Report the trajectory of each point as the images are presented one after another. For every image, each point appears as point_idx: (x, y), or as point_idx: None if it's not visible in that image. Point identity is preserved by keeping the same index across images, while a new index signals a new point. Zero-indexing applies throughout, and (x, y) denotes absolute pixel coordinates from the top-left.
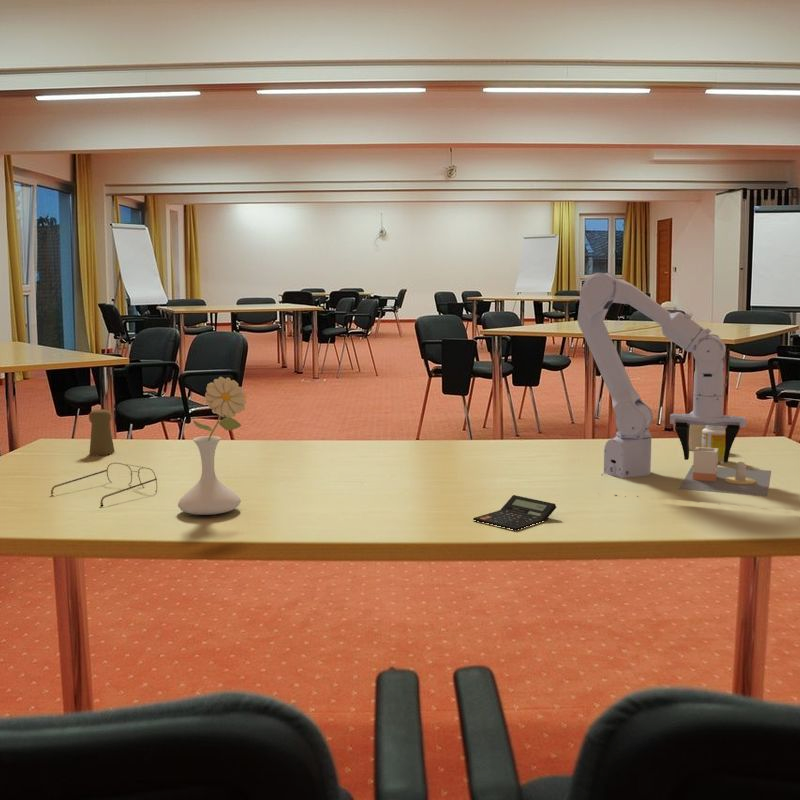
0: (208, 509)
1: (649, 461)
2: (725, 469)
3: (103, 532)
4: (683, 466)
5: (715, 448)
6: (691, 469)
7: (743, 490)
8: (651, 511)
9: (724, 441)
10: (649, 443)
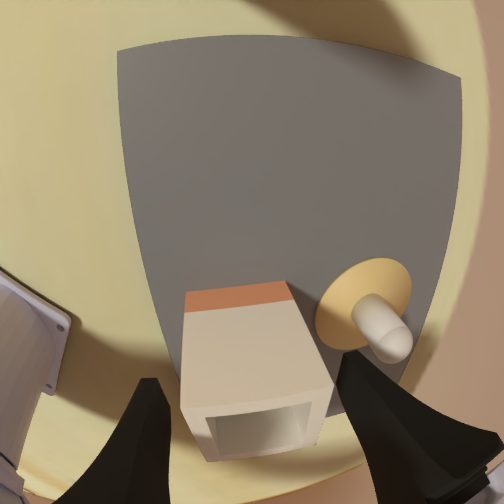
0: None
1: (35, 382)
2: (308, 88)
3: None
4: (80, 20)
5: (315, 396)
6: (133, 172)
7: None
8: (201, 480)
9: None
10: (15, 442)
